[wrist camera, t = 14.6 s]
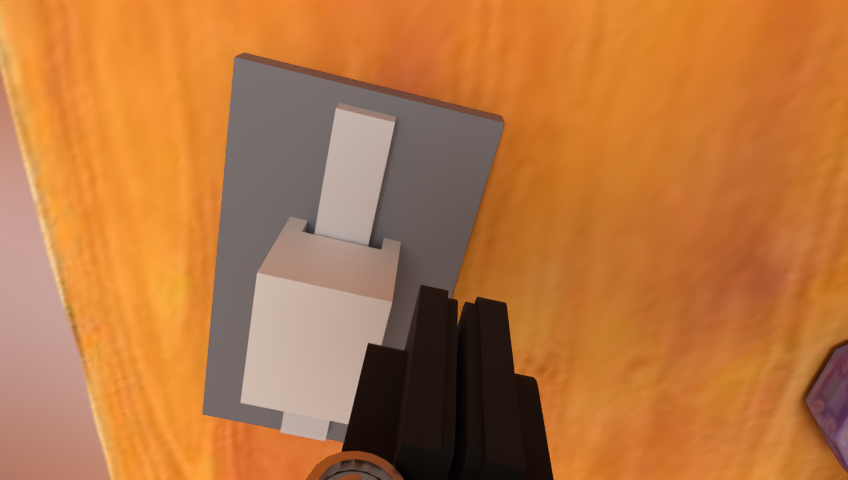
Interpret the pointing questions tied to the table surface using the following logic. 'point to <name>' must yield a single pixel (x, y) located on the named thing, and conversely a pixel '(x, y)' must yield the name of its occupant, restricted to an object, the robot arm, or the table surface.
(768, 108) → the table surface
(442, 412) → the robot arm
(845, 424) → the lantern
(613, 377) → the table surface
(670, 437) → the table surface
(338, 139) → the rail board
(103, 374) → the table surface
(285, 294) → the block
